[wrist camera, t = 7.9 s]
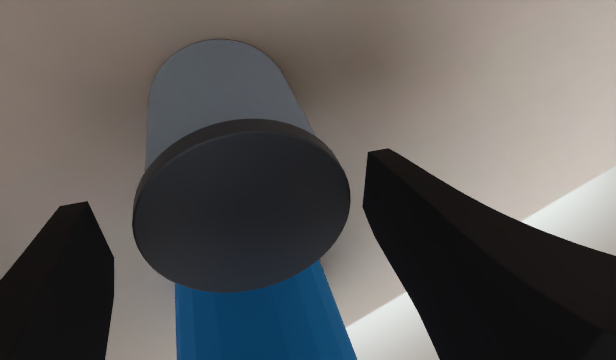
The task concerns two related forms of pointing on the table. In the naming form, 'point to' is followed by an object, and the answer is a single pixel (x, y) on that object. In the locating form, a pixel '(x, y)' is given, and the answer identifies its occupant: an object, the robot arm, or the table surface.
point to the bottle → (263, 322)
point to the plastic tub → (233, 174)
